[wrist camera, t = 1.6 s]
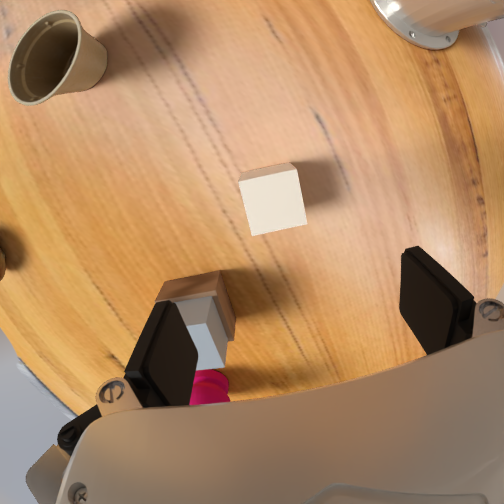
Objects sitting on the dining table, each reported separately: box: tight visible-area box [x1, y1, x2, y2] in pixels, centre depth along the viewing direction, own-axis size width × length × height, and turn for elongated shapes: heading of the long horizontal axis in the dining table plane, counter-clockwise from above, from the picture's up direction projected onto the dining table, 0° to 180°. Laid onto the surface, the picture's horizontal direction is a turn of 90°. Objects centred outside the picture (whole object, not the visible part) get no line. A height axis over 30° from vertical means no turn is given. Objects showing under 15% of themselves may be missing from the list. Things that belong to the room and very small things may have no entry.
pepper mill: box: [189, 369, 230, 405], centre depth 32 cm, size 7×7×20 cm
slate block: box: [174, 296, 228, 370], centre depth 28 cm, size 6×6×4 cm
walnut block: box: [155, 270, 236, 341], centre depth 32 cm, size 7×7×4 cm
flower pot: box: [8, 10, 107, 106], centre depth 18 cm, size 9×9×9 cm
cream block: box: [238, 162, 307, 236], centre depth 27 cm, size 5×5×5 cm
